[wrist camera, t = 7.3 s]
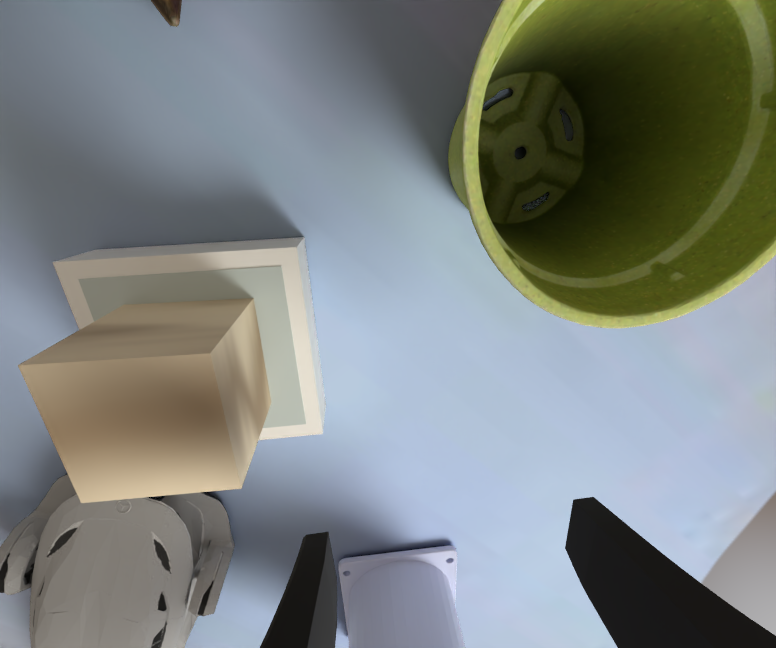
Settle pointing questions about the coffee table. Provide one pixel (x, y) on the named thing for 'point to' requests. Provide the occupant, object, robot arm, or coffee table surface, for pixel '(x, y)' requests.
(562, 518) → the coffee table surface
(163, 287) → the cream square tray
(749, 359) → the coffee table surface
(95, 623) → the car model
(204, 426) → the maple cube
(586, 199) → the plant pot
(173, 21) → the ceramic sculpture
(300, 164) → the coffee table surface
